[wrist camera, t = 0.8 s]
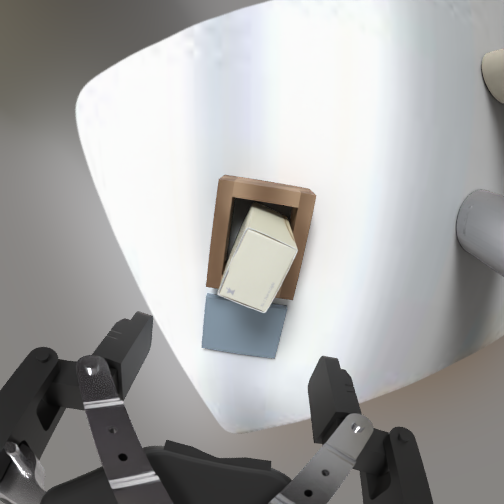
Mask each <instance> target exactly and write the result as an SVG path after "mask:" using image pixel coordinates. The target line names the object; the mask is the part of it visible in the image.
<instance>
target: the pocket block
mask: <svg viewBox="0 0 504 504" xmlns="http://www.w3.org/2000/svg"><path fill="white" fill-rule="evenodd" d="M235 197H236V198H243V199H249V200H255V201H262V202H268V203H274V204H280V205H285V206H291V207H292V211H291V216H290V221H289V224H290V227H291V230H292V233H293V236H294V239H295V243H296V246H297V249H298V252H297V254H296V256H295V259H294V260H293V263H292V265H291V267H290V269H289V271H288V273H287V275H286V277H285V279H284V281H283V283H282V285H281V287H280V289H279V290H278V292H277V294H276V296H275V298H282V299H289V300H293V297H294V293H295V289H296V285H297V281H298V277H299V272H300V268H301V264H302V260H303V255H304V251H305V246H306V242H307V237H308V233H309V228H310V223H311V219H312V214H313V209H314V204H315V199H316V195H315V194H314V193H313V192H312V191H311V190H310V189H307V188H302V187H296V186H291V185H285V184H280V183H274V182H268V181H262V180H255V179H249V178H243V177H236V176H229V175H224V176H223V177H221V178H220V179H219V182H218V189H217V197H216V204H215V212H214V220H213V228H212V237H211V245H210V254H209V263H208V272H207V282H206V287H211V288H217V289H219V287H220V284H221V280H222V277H223V274H224V271H225V268H226V265H227V262H228V261H226V259H227V252H228V244H229V237H230V230H231V223H232V216H233V209H234V202H235Z"/></svg>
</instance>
